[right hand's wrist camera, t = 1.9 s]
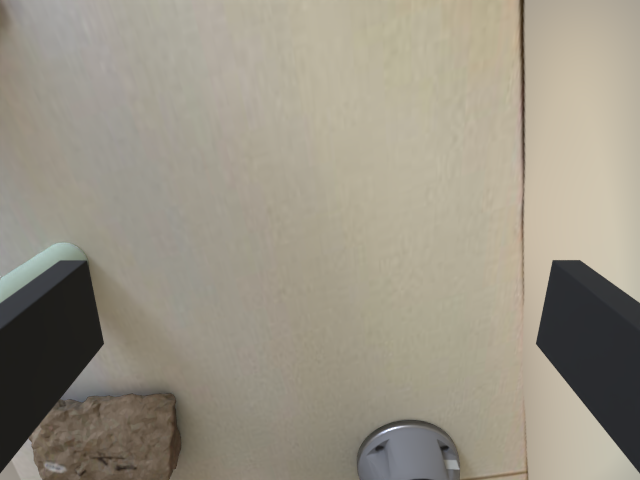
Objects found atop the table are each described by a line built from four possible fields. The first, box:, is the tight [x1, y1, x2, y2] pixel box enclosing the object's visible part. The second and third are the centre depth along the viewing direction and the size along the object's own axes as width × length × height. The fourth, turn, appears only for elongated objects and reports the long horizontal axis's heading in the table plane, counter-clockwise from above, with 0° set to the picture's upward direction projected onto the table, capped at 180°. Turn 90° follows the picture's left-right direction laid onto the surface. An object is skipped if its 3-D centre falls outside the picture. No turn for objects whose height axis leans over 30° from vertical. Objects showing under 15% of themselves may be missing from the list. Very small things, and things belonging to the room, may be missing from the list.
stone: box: [29, 393, 181, 480], centre depth 63 cm, size 21×15×6 cm
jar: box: [0, 242, 89, 303], centre depth 48 cm, size 5×5×18 cm
